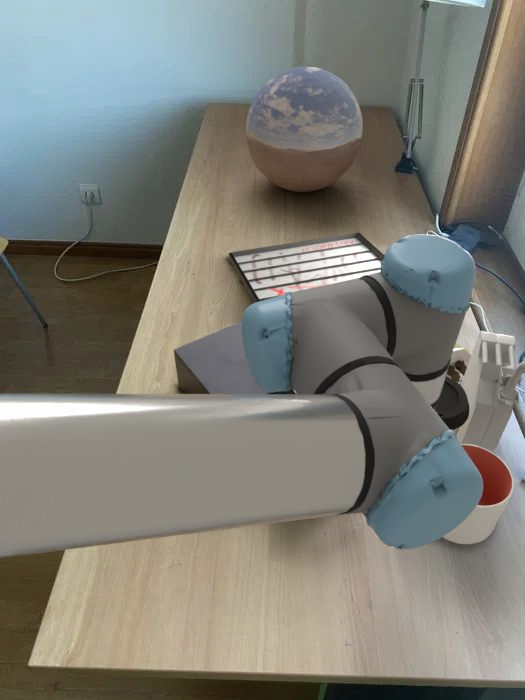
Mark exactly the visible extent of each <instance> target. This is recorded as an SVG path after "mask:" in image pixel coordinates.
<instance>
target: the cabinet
mask: <svg viewBox="0 0 525 700" xmlns="http://www.w3.org/2000/svg"><path fill="white" fill-rule="evenodd" d="M173 356H174V362H175V363H174V364H175V370H176V378H177V386H178V388H179V390H180V391H181V392H182V394H276V393H278V392H272V393H270V392H266V391H264V390H263V389H262V388H261V387H260V386H259V385H258V384H257V383H256V382H255V380H254V378H253V376H252V374H251V371H250V369H249V366H248V363H247V359H246V356H245V351H244V347H243V340H242V320H241V321H239V322H236V323H235V324H232V325H229V326H226V327H225V328H222V329H220V330H218V331H215V332H213V333H211V334H208V335H205V336H203V337H201V338H197V339H196V340H193V341H191V342H189V343H186V344H184V345H182V346H179V347H177V348H174V349H173Z"/></svg>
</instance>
